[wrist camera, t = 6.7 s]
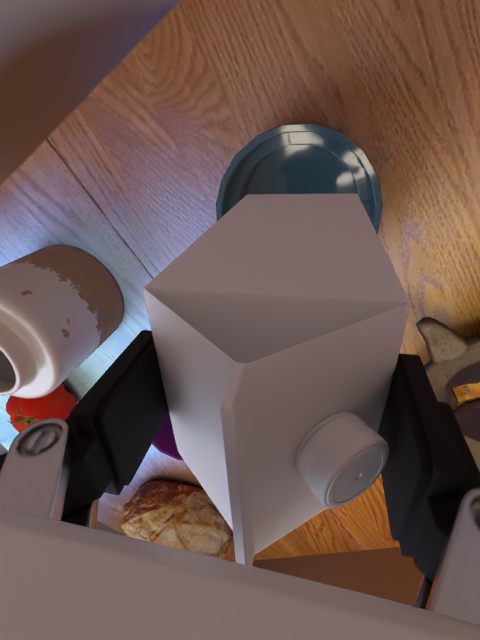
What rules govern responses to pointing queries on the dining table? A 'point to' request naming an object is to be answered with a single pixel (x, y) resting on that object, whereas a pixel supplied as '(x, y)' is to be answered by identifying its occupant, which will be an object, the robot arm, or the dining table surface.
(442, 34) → the dining table surface
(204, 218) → the dining table surface
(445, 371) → the broken pan
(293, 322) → the milk carton
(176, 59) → the dining table surface
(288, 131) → the shallow pet bowl
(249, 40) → the dining table surface
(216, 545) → the bread
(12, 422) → the tomato
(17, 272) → the vase
